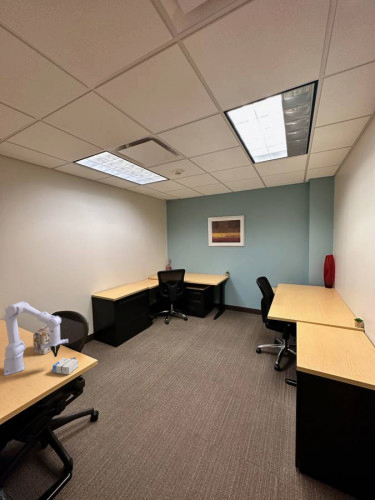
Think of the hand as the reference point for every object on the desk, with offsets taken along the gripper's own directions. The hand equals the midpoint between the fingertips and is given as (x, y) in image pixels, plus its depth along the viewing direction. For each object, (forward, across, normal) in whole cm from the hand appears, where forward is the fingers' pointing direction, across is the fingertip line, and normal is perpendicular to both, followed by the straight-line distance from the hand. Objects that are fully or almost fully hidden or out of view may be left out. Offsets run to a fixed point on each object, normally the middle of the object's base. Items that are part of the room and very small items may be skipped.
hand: (55, 356), depth 131 cm
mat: (+8, +8, 0) cm, 12 cm away
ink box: (+5, +1, -2) cm, 6 cm away
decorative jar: (+9, -5, +32) cm, 33 cm away
